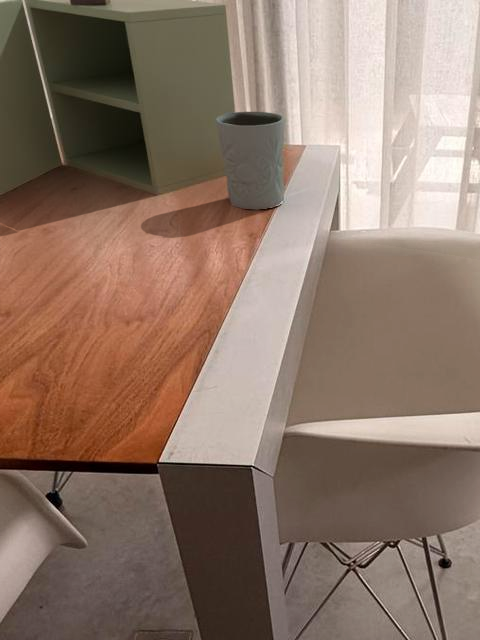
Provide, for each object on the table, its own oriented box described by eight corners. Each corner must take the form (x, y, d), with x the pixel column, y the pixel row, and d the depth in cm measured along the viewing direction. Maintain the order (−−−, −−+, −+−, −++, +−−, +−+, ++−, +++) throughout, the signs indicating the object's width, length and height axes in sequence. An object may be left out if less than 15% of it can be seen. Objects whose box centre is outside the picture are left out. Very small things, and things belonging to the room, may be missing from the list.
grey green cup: (243, 216, 103) (235, 128, 95) (213, 198, 109) (203, 114, 101) (300, 204, 108) (297, 120, 100) (268, 188, 114) (263, 107, 106)
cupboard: (158, 196, 109) (128, 12, 94) (64, 164, 122) (23, -3, 106) (240, 172, 120) (225, 4, 105) (146, 145, 133) (120, -9, 117)
